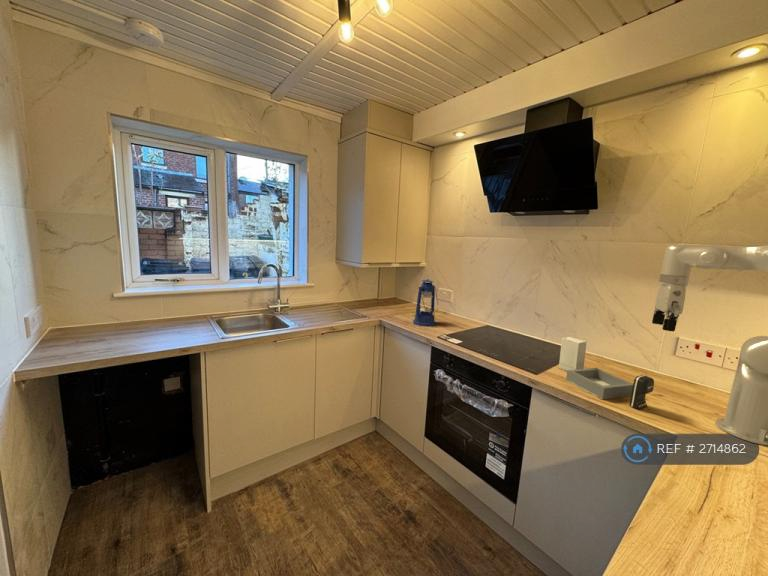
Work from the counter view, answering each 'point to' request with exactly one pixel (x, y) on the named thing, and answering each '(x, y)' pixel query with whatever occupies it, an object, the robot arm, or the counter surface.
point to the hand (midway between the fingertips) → (662, 327)
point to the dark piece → (641, 391)
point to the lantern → (426, 314)
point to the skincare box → (572, 354)
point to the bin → (599, 383)
